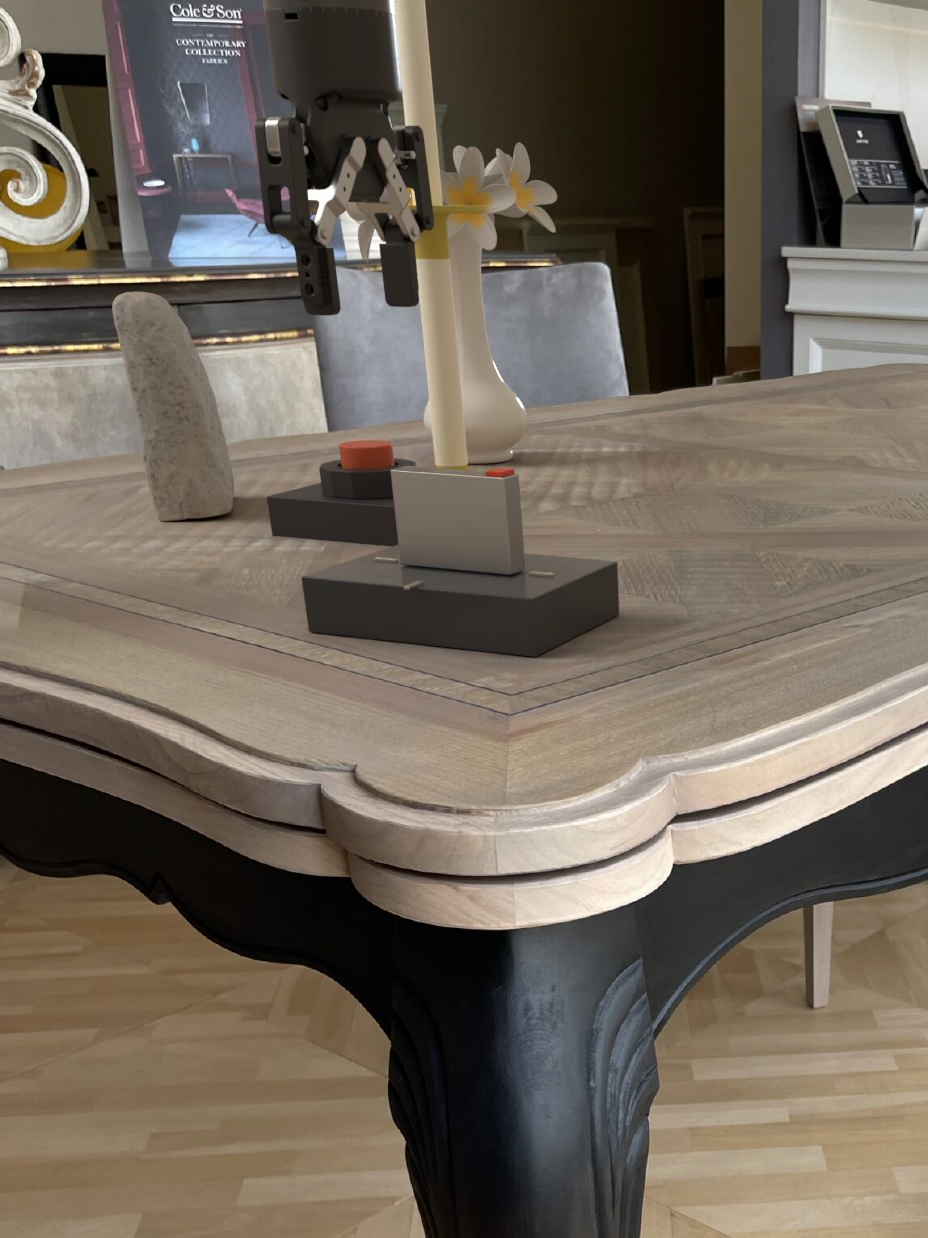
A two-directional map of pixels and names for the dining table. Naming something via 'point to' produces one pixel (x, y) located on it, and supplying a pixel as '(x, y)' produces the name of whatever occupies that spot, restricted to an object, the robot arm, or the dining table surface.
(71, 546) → the dining table surface
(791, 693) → the dining table surface
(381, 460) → the button
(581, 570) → the dark grey slotted base
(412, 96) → the candle
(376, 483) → the button box
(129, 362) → the decorative stone
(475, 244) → the flower vase
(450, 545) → the grey box
